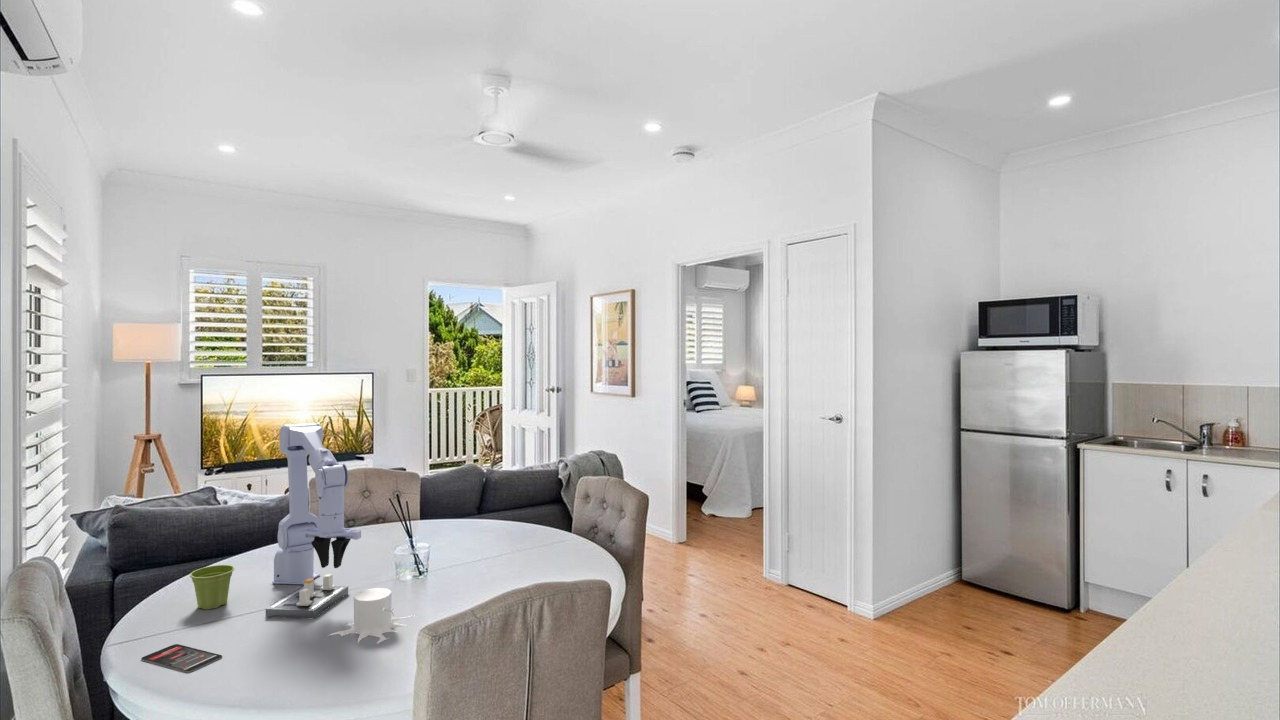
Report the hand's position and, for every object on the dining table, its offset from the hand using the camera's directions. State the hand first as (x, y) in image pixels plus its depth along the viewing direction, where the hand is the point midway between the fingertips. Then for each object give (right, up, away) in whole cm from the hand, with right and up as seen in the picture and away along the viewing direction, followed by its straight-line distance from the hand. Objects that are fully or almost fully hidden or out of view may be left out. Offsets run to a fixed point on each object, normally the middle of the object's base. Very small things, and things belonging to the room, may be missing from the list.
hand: (331, 566), depth 161 cm
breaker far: (-4, -7, +5) cm, 10 cm away
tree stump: (+16, -11, -12) cm, 22 cm away
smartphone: (-17, -11, -28) cm, 35 cm away
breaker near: (-4, -7, -5) cm, 10 cm away
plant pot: (-30, -10, 0) cm, 32 cm away
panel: (-6, -10, 0) cm, 11 cm away
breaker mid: (-6, -7, 0) cm, 9 cm away
